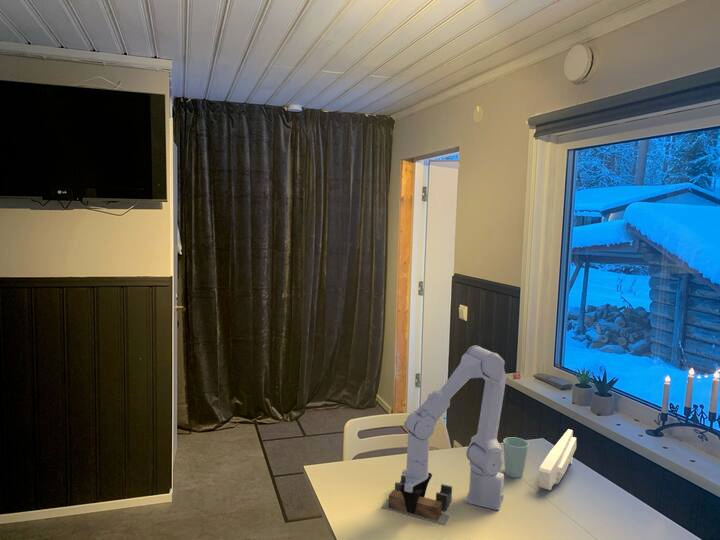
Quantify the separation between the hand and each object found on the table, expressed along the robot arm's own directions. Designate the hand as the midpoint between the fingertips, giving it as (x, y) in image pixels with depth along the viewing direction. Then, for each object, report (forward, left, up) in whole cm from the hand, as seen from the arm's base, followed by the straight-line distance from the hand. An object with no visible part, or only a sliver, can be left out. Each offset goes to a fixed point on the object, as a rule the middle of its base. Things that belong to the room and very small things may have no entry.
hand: (415, 505), depth 147 cm
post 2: (-6, -7, -2) cm, 9 cm away
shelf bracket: (-34, -40, -2) cm, 53 cm away
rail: (0, 0, -2) cm, 2 cm away
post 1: (+6, -7, -2) cm, 9 cm away
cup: (-21, -36, -2) cm, 42 cm away
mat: (0, 0, -2) cm, 2 cm away
